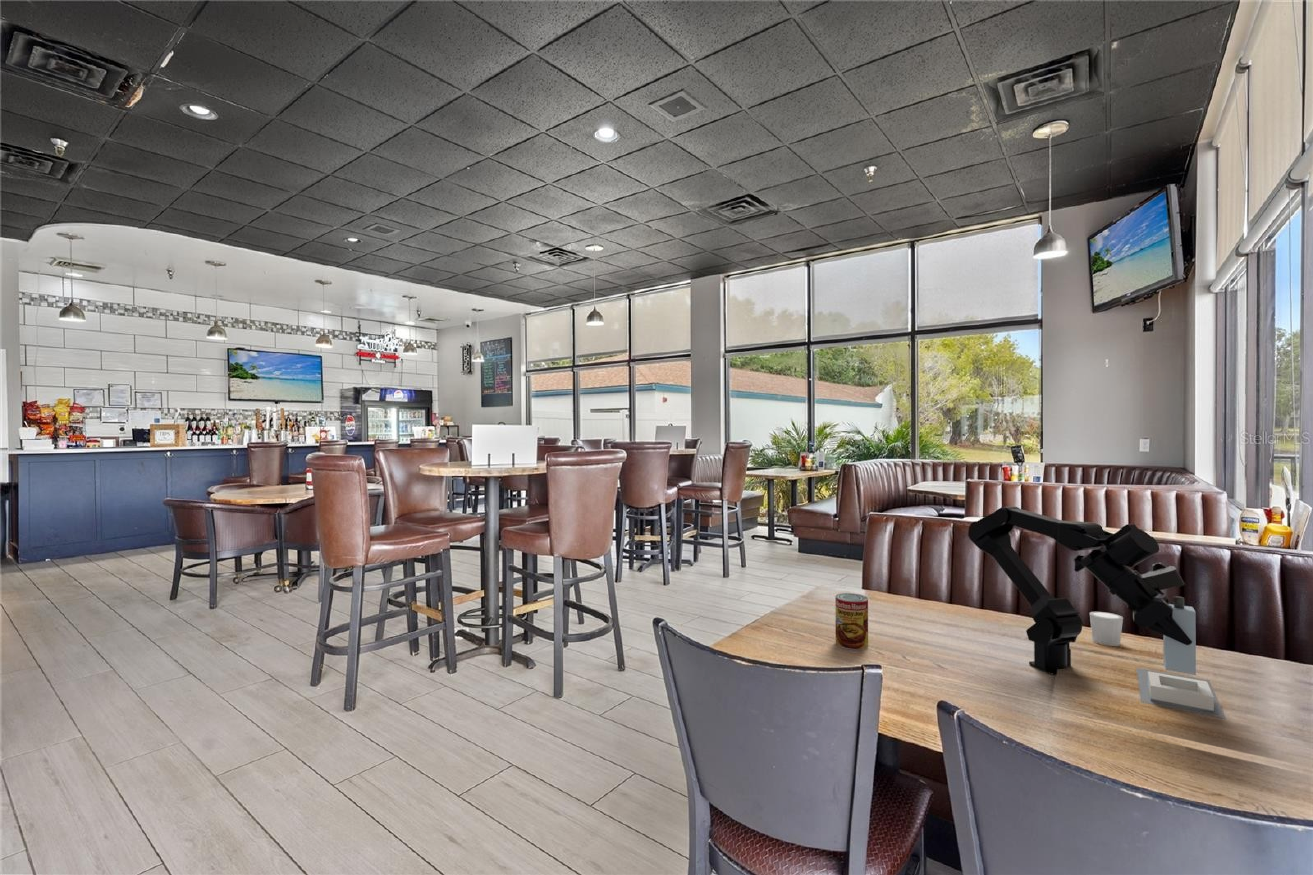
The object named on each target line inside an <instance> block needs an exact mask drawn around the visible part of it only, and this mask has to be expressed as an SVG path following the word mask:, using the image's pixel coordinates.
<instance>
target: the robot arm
mask: <svg viewBox="0 0 1313 875" xmlns="http://www.w3.org/2000/svg"><path fill="white" fill-rule="evenodd" d="M1016 527H1017V528H1020V529H1024V530H1027V531H1030V532H1034V533H1037V534H1040V535H1043V536H1045V537H1049V538H1051V539H1053V540H1054V541H1055V542H1056V544H1059V545H1061V546H1063V547H1065V548H1066V549H1068V550H1071V551H1074V552H1076V551H1077V552H1078V551H1079V552H1080V551H1090V552H1089V553H1087V554H1085V555H1081V554H1077V555H1076V556H1075V557H1074V558H1073V561H1074V571H1075V572H1076V573H1079V572H1080V571H1082V570H1083V569H1086V570H1088V571H1089V573H1091V574H1092V575H1093V576H1094V577H1095V578H1096V579H1097V580H1098V581H1099V582H1100V583H1102V584H1103V585H1104V586H1105V587H1106V588H1107V589H1108V591H1109V593H1111V595H1113V596H1114V595H1115V597H1117V598H1118V599H1119V601H1121V602H1123V603H1124V604H1125V605H1126V608H1127V609H1128V610H1129V611H1130V612H1132V620H1133V622H1134V624H1136V625H1137V626H1138V627H1139V628H1141V630H1146V629H1149V630H1151V631H1154V632H1156V633H1158V634H1161V635H1165V636H1167V637H1170V638H1172V639H1174V640H1176V641H1178V642H1181V643H1183V644H1185V645H1190V644H1191V643H1192V641H1191V640H1190V638H1189V637H1188V636H1187V635H1186V634H1185V632H1184V631H1183V630H1182V629H1181V627H1180V626H1179V625H1178V624H1177V623H1176V621H1175V620H1174V619H1173V618H1172V616H1173V608H1172V606H1169V605H1168V604H1170V603H1169V598H1168V596H1165V597H1163V598H1162V597H1158V595H1160V596H1163V595H1165V592H1164V590H1167V589H1171V588H1175V587H1176V588H1179V587H1183V586H1184V585H1185V582H1184V580H1183V579H1182V576H1181V575H1180V573H1179V572H1178V569H1177V568H1176V567H1175V566H1173V565H1169V566H1167V565H1165V564H1163V563H1162V562H1161V561H1160V562H1156V563H1153V564H1152V565H1151V566H1152V568H1151V571H1147V572H1146V573H1142V574H1141V573H1139V572H1138V571H1137V570H1134V569H1132V568H1133V567H1135V566H1137V565H1139V564H1140V563H1142V562H1144V561H1145V560H1147V559H1149V558H1151V557H1152V556H1154V555H1155V554H1158V553H1159V551H1160V546H1159V543H1158V542H1157V540H1156V539H1155V537H1153V536H1151V535H1150V534H1149V533H1148V532H1146V531H1145V530H1143V529H1140V528H1138V527H1137V526H1136V524H1134V523H1129V524H1128V523H1127V524H1125V525H1124V526H1122V527H1121V528H1120V529H1119V530H1118V531H1116V532H1115V533H1112V532H1109V531H1106V530H1104V529H1103V526H1102V525H1100V524H1099V523H1096V522H1090V521H1077V520H1073V521H1072V520H1062V519H1058V518H1055V517H1051V516H1048V515H1043V514H1039V513H1036V512H1033V511H1030V510H1025V509H1022V508H1020V507H1017V506H1001V507H1000V508H998V509H996V510H995V511H994V512H992V513H990V514H987V515H986V516H984V517H982V518H980V519H978V520H976V521H972V522H971V523H970V525H969V527H968V530H967V531H968V532H967V536H968V538H969V540H970V541H971V542H972V544H974V545H975V546H976V547H977V548H978V549H979V550H981V551H983V552H984V553H985V554H988V555H989V556H991V557H992V558H993V559H994V560H995V562H996V563H997V565H998V566H999V567H1000V568H1001V569H1002V571H1003V572H1004V573H1005V575H1007V577H1008V578H1009V579H1010V581H1011V582H1012V583H1013V584H1014V586H1015V587H1016V588H1017V590H1018V591H1019V593H1020V594H1021V595H1022V596H1023V598H1024V599H1025V600H1026V601H1027V603H1028V604H1029V606H1030V608H1031V609H1030V610H1031V617H1032V619H1033V621H1034V624H1032V625H1030V627H1029V628H1027V629H1026V630H1025V632H1026V636H1027V639H1028V641H1030V642H1033V650H1034V651H1033V661H1029V662H1028V664H1029V665H1030V666H1033V667H1035V668H1037V669H1039V670H1041V671H1043V672H1045V673H1047V674H1049V675H1057V673H1058V670H1065V669H1067V668H1070V667H1071V666H1072V657H1071V656H1072V649H1071V647H1070V644H1071V643H1075V642H1076V641H1077V637H1078V636H1079V635H1080V634H1081V632H1082V630H1083V621H1082V619H1081V617H1080V616H1079V615H1080V612H1079V611H1078V610H1077V609H1075V607H1073V605H1072V603H1071V602H1070V600H1069V599H1067V597H1063V598H1056V597H1054V596H1053V595H1051V593H1050V592H1049V591H1048V589H1047V588H1046V587H1045V585H1043V583H1042V582H1041V581H1040V580H1039V578H1038V577H1037V576H1036V575H1035V573H1034V572H1033V571H1032V570H1031V569H1030V568H1029V566H1028V565H1027V564H1026V563H1025V561H1024V560H1023V559H1022V558H1021V557H1020V555H1019V554H1018V553H1017V552H1016V550H1015V549H1014V547H1013V546H1012V540H1011V535H1010V534H1011V532H1013V531H1014V529H1015V528H1016ZM1102 547H1105V548H1104V549H1101V548H1102Z"/></svg>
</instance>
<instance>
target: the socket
mask: <svg viewBox="0 0 1313 875" xmlns="http://www.w3.org/2000/svg"><path fill="white" fill-rule="evenodd" d="M1148 688H1149V694H1150V699H1151V701H1153V702H1158V703H1163V704H1168V705H1173V706H1178V707H1183V708H1188V709H1193V710H1198V711H1203V712H1208V713H1213V714H1214V697H1213V694H1212V692H1211V690H1210V688H1209V685H1208V683H1207V682H1206V681H1200V680H1195V679H1189V678H1183V677H1178V676H1172V675H1166V674H1160V673H1155V672H1149V671H1148Z"/></svg>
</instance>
